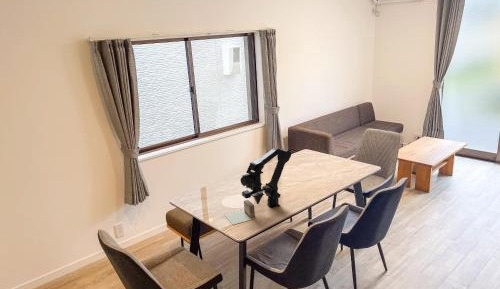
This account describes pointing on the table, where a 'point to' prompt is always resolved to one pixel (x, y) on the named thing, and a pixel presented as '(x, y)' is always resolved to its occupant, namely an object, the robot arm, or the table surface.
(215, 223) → the table surface
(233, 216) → the mat
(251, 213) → the grey brown stone slab
